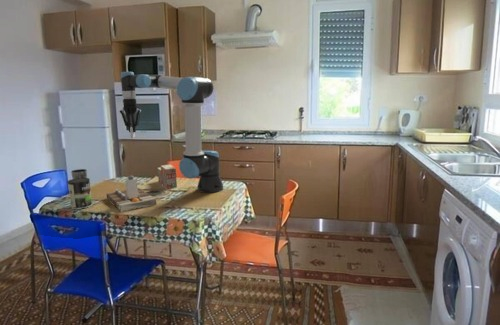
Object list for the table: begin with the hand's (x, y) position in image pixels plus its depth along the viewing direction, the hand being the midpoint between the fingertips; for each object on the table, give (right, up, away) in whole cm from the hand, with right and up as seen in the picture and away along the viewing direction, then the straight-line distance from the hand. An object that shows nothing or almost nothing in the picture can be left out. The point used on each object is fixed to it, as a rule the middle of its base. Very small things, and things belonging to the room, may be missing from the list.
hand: (133, 137), depth 224 cm
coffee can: (-17, -38, -32) cm, 52 cm away
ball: (+12, -36, -33) cm, 50 cm away
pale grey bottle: (+9, -34, -30) cm, 46 cm away
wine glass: (-25, -35, -13) cm, 45 cm away
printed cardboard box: (+19, -29, +8) cm, 36 cm away
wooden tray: (+8, -36, -27) cm, 46 cm away
